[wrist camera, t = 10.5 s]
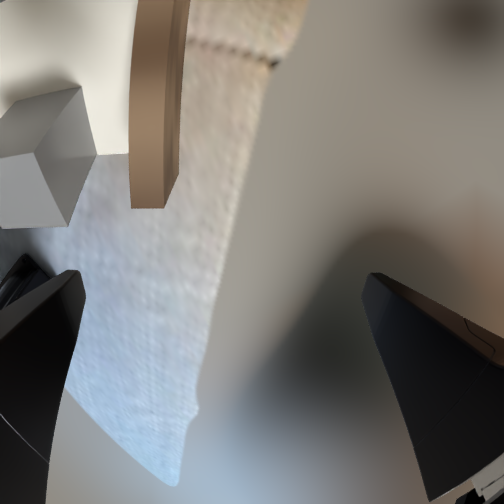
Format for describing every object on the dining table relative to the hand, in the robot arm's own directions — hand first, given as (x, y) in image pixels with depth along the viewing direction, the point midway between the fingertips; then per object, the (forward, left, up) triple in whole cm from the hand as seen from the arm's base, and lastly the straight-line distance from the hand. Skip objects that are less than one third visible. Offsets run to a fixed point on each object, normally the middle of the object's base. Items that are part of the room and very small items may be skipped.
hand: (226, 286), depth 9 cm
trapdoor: (-3, +14, -11) cm, 17 cm away
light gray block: (-6, +9, -10) cm, 15 cm away
